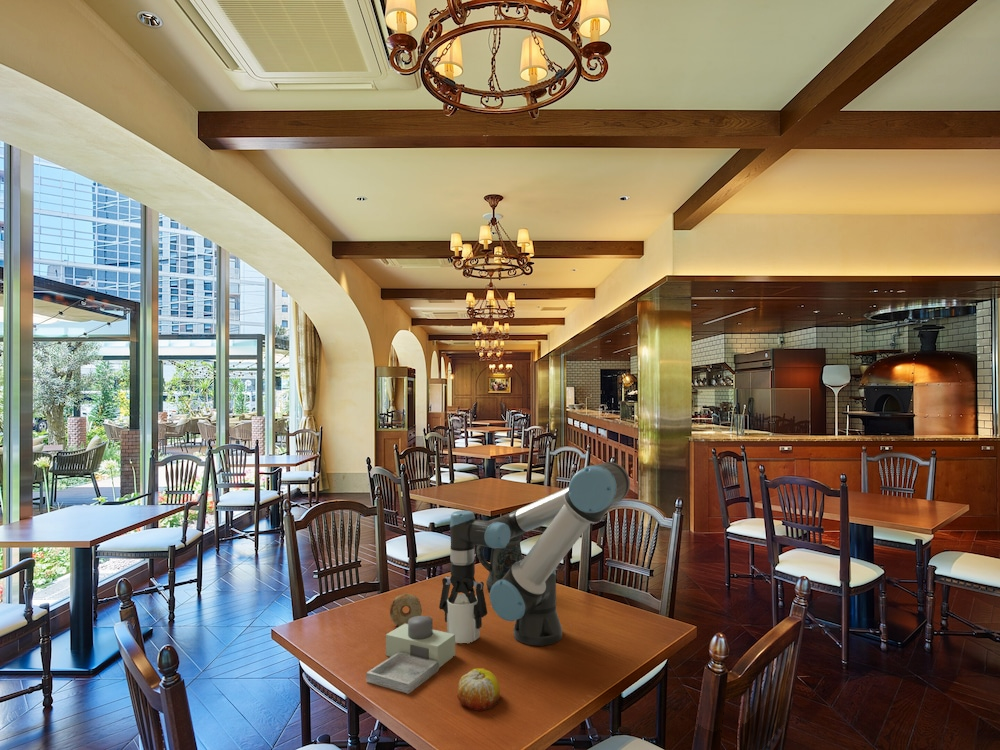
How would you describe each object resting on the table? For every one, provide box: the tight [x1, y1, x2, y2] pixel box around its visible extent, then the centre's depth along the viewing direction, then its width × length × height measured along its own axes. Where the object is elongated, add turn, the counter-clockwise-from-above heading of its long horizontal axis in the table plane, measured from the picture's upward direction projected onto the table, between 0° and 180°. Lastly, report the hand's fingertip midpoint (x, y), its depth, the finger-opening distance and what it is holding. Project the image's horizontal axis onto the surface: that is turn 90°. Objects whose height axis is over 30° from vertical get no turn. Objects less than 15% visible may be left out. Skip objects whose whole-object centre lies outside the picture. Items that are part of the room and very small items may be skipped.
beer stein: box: [476, 534, 524, 594], centre depth 216 cm, size 16×19×25 cm
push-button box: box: [385, 615, 456, 668], centre depth 162 cm, size 18×9×10 cm, turn 62°
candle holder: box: [447, 593, 478, 644], centre depth 173 cm, size 10×10×12 cm
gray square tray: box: [365, 652, 440, 695], centre depth 150 cm, size 14×14×2 cm
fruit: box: [456, 667, 501, 711], centre depth 137 cm, size 11×10×8 cm
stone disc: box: [389, 593, 423, 627], centre depth 183 cm, size 10×4×10 cm, turn 97°
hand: (463, 635), depth 173 cm, fingers closed on candle holder, 9 cm apart
